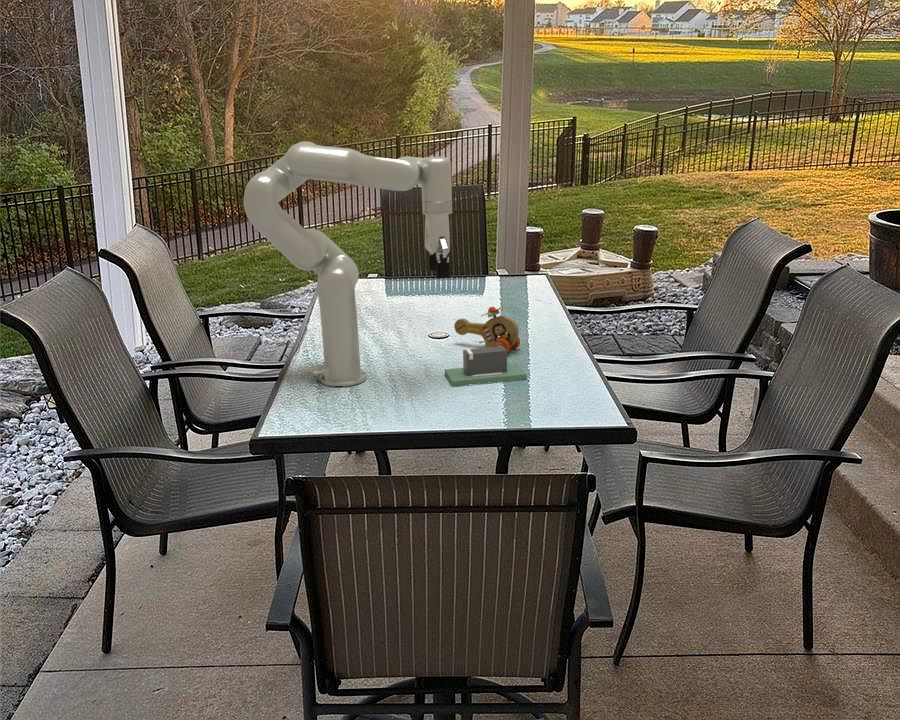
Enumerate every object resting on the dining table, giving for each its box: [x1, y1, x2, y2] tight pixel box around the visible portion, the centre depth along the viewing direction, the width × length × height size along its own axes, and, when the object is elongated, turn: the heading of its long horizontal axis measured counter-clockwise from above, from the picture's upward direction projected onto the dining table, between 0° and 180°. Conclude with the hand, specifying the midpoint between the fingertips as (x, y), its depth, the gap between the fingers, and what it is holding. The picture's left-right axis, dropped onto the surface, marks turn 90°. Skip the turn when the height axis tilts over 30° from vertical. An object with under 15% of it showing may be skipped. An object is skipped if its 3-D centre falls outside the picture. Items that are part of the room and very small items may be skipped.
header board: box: [444, 362, 528, 388], centre depth 233 cm, size 20×10×6 cm, turn 102°
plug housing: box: [462, 346, 508, 376], centre depth 232 cm, size 11×4×6 cm, turn 102°
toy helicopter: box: [454, 306, 521, 355], centre depth 255 cm, size 8×21×14 cm, turn 58°
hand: (439, 273), depth 225 cm, fingers open, 9 cm apart
